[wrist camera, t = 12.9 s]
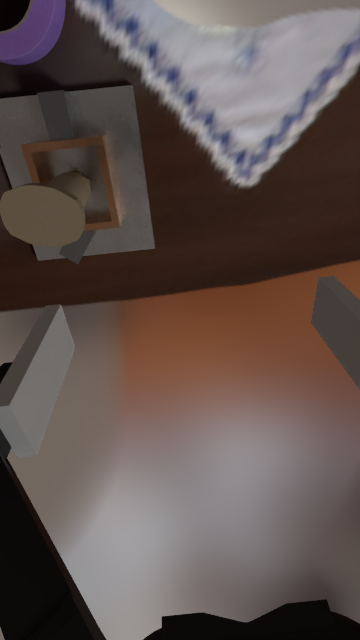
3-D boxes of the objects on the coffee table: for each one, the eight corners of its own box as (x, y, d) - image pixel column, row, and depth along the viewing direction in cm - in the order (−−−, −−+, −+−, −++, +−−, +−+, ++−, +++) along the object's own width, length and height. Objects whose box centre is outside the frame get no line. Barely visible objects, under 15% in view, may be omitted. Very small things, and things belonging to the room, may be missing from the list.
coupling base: (-15, 100, 34) (-33, 99, 31) (133, 85, 34) (130, 82, 31) (40, 258, 44) (30, 270, 41) (155, 246, 44) (154, 257, 41)
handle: (49, 159, 37) (-6, 181, 24) (105, 166, 37) (82, 190, 25) (52, 202, 39) (5, 242, 27) (105, 208, 40) (84, 249, 27)
